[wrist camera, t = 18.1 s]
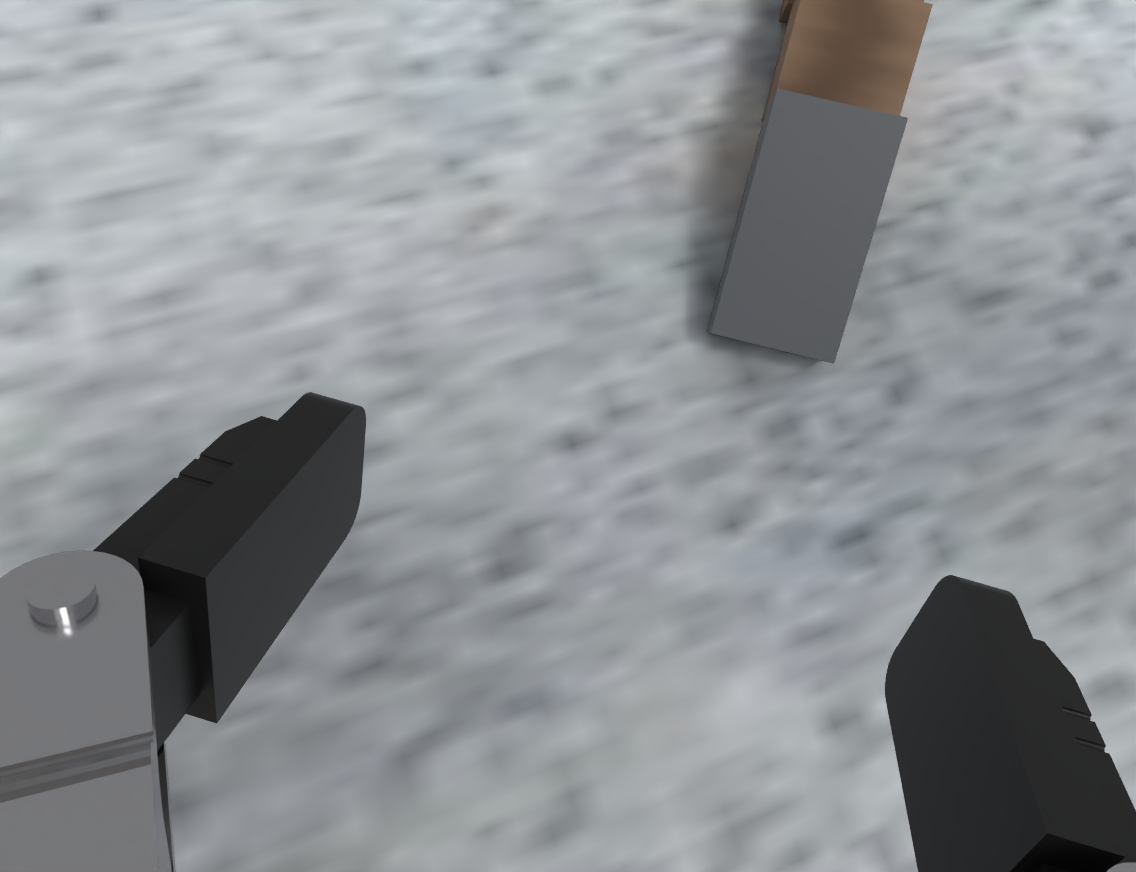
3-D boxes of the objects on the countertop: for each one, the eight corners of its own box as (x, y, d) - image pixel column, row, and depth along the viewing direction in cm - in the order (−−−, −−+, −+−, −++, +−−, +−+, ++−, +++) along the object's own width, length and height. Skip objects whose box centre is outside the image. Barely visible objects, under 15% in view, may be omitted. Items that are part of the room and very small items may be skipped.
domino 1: (847, 250, 34) (914, 23, 32) (860, 247, 32) (932, 4, 30) (735, 224, 34) (796, -4, 33) (741, 219, 32) (806, -24, 31)
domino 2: (822, 360, 33) (891, 130, 31) (834, 363, 31) (907, 117, 29) (706, 332, 33) (768, 102, 31) (711, 333, 31) (777, 88, 30)
